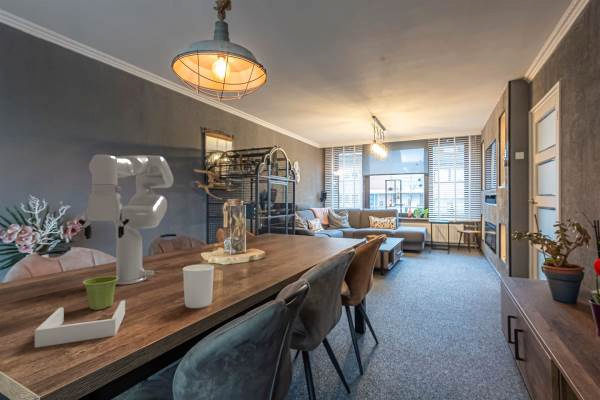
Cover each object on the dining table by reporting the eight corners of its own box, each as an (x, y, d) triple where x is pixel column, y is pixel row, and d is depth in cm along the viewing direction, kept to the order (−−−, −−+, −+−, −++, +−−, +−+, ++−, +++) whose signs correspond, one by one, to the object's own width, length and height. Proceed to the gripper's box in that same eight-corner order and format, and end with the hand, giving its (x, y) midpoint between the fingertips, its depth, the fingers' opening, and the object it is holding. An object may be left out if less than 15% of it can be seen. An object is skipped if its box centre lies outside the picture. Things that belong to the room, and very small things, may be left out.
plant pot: (80, 314, 88) (80, 285, 88) (85, 304, 96) (85, 278, 96) (116, 309, 92) (116, 281, 92) (119, 300, 101) (119, 274, 101)
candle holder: (187, 299, 102) (187, 264, 102) (216, 298, 103) (216, 264, 103) (178, 309, 92) (178, 271, 92) (210, 308, 93) (210, 270, 93)
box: (125, 313, 89) (125, 300, 89) (115, 335, 74) (115, 319, 74) (59, 322, 82) (59, 307, 82) (34, 347, 68) (34, 330, 68)
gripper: (134, 190, 111) (134, 236, 111) (79, 190, 105) (79, 237, 105) (130, 189, 104) (130, 238, 104) (71, 189, 98) (71, 240, 98)
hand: (104, 238), depth 105 cm, fingers open, 9 cm apart
